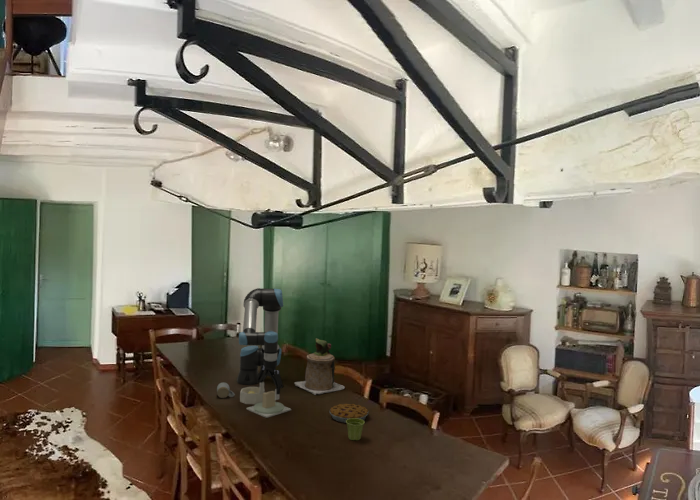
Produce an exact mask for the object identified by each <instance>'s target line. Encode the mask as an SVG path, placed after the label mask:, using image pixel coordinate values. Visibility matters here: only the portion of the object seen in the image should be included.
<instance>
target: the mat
mask: <svg viewBox="0 0 700 500" xmlns="http://www.w3.org/2000/svg"><path fill="white" fill-rule="evenodd" d="M246 410H247V411H249V412H251V413H254V414H256V415H259V416H261V417H263V418H265V419H266V418H267V419H268V418H271V417H274V416H277V415H281V414H284V413H287V412H290V411H292V409H291V408H290V407H287V406H285V405H284V409H283V410H282V411H281V412H278V413H272V414H264V413H259V412H256V411H255V410H254V405H252V406H248V407H246Z"/></svg>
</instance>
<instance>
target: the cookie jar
mask: <svg viewBox="0 0 700 500" xmlns="http://www.w3.org/2000/svg"><path fill="white" fill-rule="evenodd" d="M315 349H316V350H315V351H314V352H313V353H310V354H307V355H306V360H307V362H306V364H307V365H306V368H305V376H304V379H305V380H303V381H295V382H294V385H295V387H297V388H298V387H299V388H300V389H302V390H304V391H306V392H309V393H311V394H312V395H314V396H317V395H323V394H325V393H326V394H327V393H332V392H333V393H334V392H337V391H342V390H344V389H345V386H344V385H342V384H339V383H338V382H335V370H336V363H335V362H336V358H335V356H334V355H333V354H331V353H330V350H331V349H332V344H331V343H328V342H327V341H326V340H323V339H319V338H315Z"/></svg>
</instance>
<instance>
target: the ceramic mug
mask: <svg viewBox="0 0 700 500" xmlns="http://www.w3.org/2000/svg"><path fill="white" fill-rule="evenodd" d="M230 389H231V388H230V385H229V384H228V383H227V382H220V383H218V385H217V387H216V395H217V396H218V397H219V398H220V399H226V398H227V397H230V398H233V397H235V395H236V394H235V392H233V391H232V390H230Z"/></svg>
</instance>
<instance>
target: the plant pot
mask: <svg viewBox="0 0 700 500" xmlns="http://www.w3.org/2000/svg"><path fill="white" fill-rule="evenodd" d="M365 422H366V421H365V420H361V419H357V418H351V419H347V420H346V425H347V435H348V436H347V437H348V439H349V441H350V440H351V441H360V440H361V438H362V432H363V427H364V424H365Z"/></svg>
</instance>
